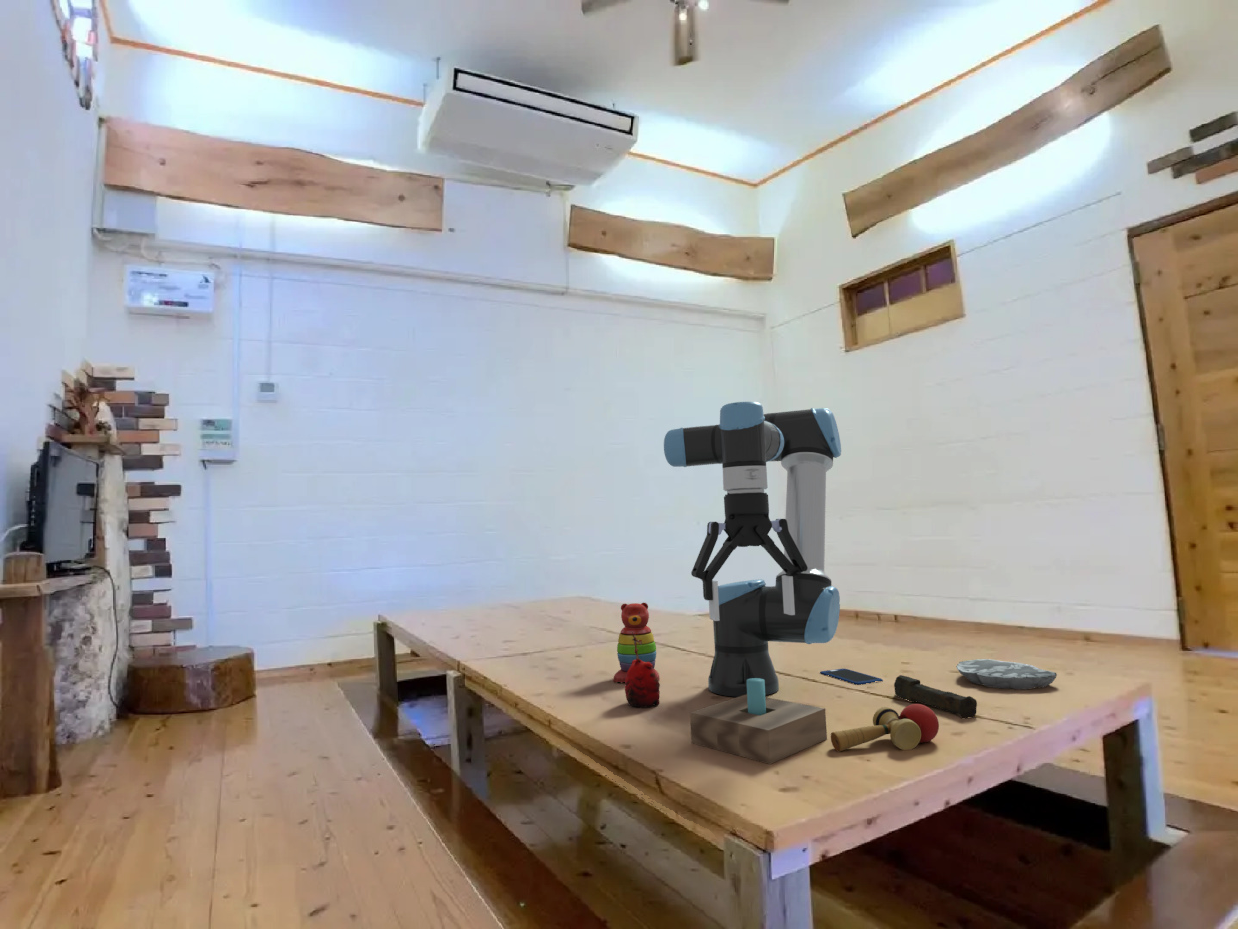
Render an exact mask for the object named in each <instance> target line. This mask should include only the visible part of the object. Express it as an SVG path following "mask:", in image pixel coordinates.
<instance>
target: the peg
mask: <svg viewBox="0 0 1238 929" xmlns="http://www.w3.org/2000/svg"><path fill="white" fill-rule="evenodd" d="M765 697H766V695H765V680H764V679H760V678H750V679H747V702H748V713H750V714H755V715H760V716H761V715H763V714H766V700H765Z"/></svg>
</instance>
